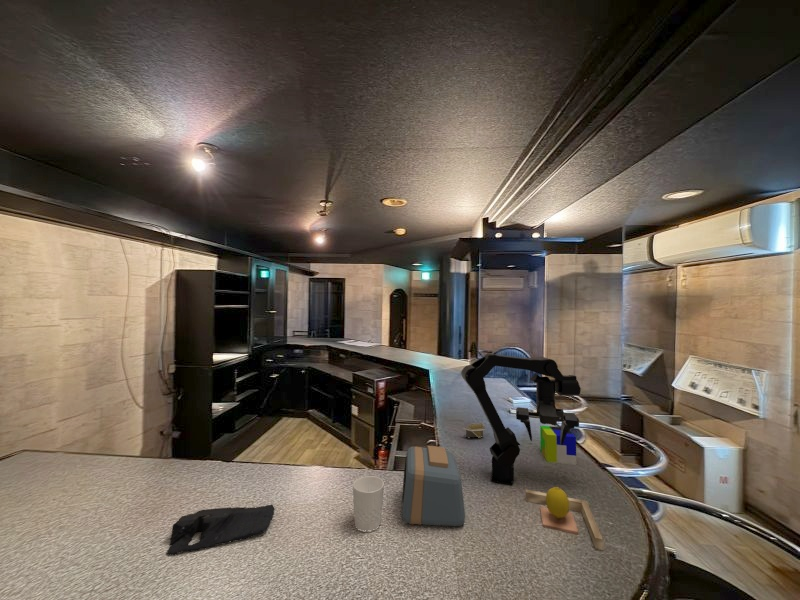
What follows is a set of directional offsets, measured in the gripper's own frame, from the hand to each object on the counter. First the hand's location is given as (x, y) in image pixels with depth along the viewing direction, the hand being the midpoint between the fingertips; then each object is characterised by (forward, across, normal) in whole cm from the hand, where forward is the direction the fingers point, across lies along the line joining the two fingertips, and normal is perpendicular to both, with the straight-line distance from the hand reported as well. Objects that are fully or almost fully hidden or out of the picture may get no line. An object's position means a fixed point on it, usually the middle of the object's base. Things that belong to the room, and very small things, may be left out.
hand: (546, 442), depth 103 cm
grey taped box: (+12, -32, -29) cm, 45 cm away
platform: (+13, -26, +27) cm, 39 cm away
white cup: (+12, -46, -41) cm, 63 cm away
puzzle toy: (+12, +6, +20) cm, 24 cm away
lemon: (+12, 0, -22) cm, 25 cm away
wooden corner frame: (+12, +1, -22) cm, 25 cm away
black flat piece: (+13, -78, -55) cm, 96 cm away
